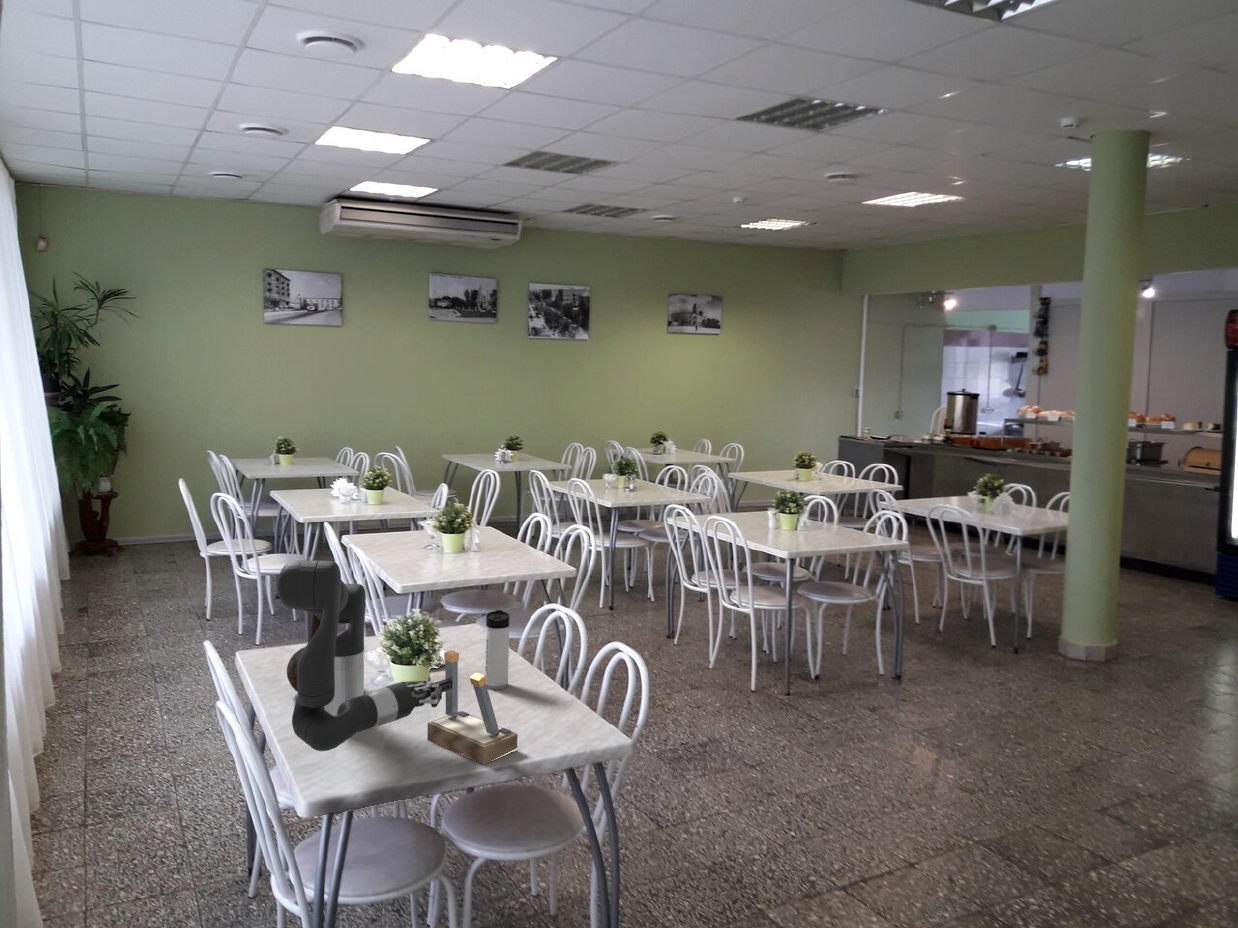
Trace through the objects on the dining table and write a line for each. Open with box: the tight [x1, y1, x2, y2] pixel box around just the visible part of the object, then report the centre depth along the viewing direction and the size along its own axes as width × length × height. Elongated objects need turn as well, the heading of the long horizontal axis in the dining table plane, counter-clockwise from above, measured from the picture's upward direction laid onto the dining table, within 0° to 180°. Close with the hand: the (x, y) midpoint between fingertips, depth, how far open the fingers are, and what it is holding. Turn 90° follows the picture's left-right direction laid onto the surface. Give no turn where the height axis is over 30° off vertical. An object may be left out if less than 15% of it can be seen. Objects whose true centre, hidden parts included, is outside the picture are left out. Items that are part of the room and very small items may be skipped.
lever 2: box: [469, 672, 499, 736], centre depth 200 cm, size 3×2×15 cm
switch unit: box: [426, 710, 519, 765], centre depth 207 cm, size 19×10×5 cm, turn 51°
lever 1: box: [444, 649, 460, 718], centre depth 210 cm, size 3×2×15 cm
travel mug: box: [484, 609, 510, 691], centre depth 244 cm, size 6×7×20 cm
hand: (449, 683), depth 209 cm, fingers closed
